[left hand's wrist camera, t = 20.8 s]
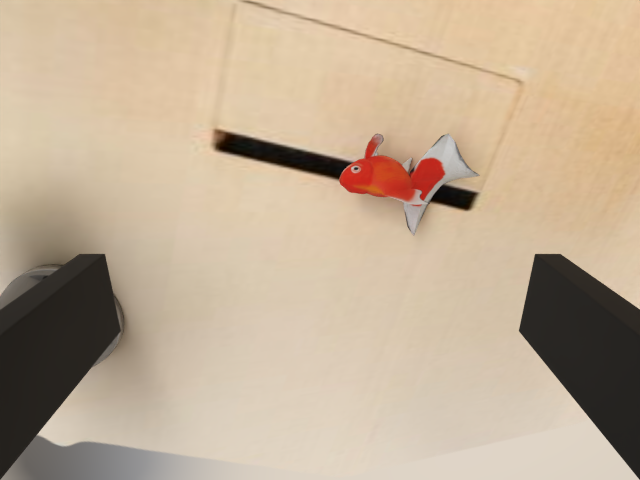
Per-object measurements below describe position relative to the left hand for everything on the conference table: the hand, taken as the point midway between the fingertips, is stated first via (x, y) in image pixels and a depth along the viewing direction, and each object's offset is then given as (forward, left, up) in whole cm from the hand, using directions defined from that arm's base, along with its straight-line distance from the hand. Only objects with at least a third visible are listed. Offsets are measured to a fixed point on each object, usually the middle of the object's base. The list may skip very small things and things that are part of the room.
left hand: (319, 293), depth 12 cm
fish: (+6, -9, -36) cm, 38 cm away
